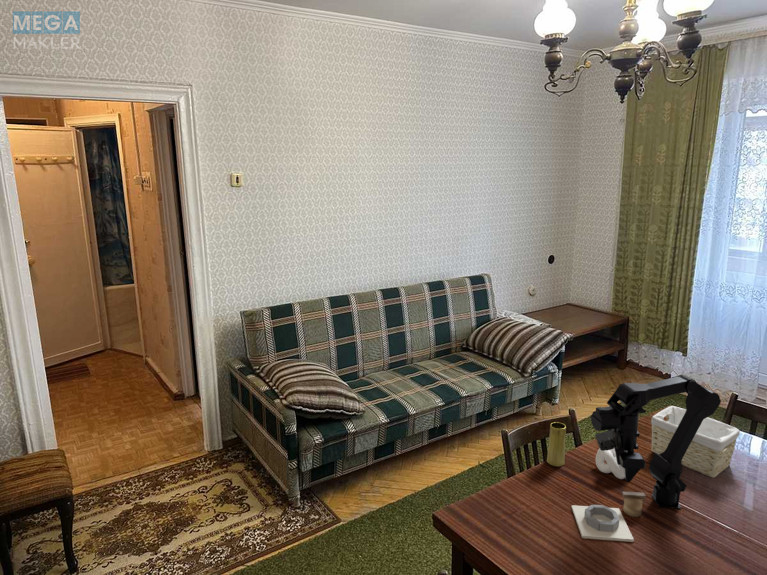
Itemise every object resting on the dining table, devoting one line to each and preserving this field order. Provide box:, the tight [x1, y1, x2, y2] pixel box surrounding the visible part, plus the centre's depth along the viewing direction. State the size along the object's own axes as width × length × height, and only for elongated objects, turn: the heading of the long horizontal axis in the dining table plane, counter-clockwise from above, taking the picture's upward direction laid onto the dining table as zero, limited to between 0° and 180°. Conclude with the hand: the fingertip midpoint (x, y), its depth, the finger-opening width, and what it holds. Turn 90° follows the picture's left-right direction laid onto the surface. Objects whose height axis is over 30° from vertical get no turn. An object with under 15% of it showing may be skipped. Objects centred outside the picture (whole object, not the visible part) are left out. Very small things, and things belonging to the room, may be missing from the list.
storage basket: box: [650, 405, 740, 478], centre depth 191 cm, size 24×16×15 cm
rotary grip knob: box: [621, 491, 647, 518], centre depth 163 cm, size 6×5×6 cm
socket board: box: [571, 504, 635, 543], centre depth 158 cm, size 14×14×3 cm
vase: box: [546, 421, 567, 467], centre depth 190 cm, size 6×6×14 cm
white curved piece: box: [595, 447, 625, 480], centre depth 184 cm, size 11×12×9 cm
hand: (623, 472), depth 163 cm, fingers open, 9 cm apart
